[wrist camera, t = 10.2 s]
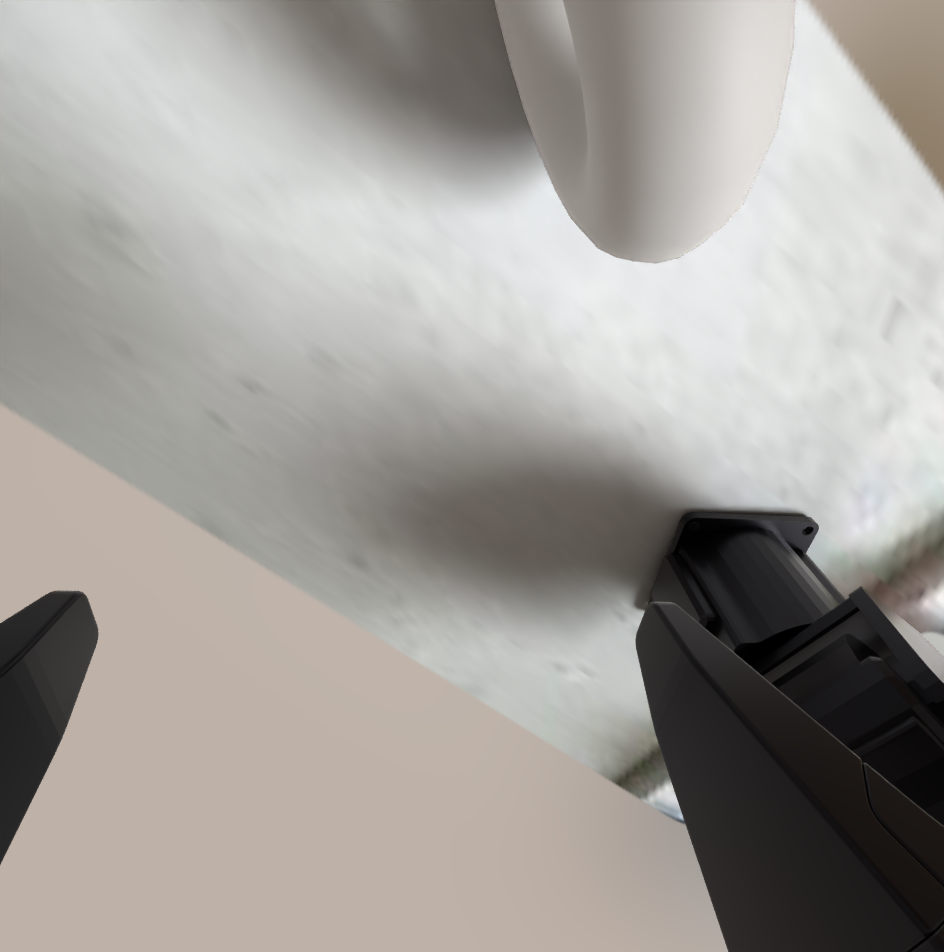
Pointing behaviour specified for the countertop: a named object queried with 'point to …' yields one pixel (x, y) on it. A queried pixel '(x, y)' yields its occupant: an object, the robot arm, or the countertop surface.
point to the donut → (650, 110)
